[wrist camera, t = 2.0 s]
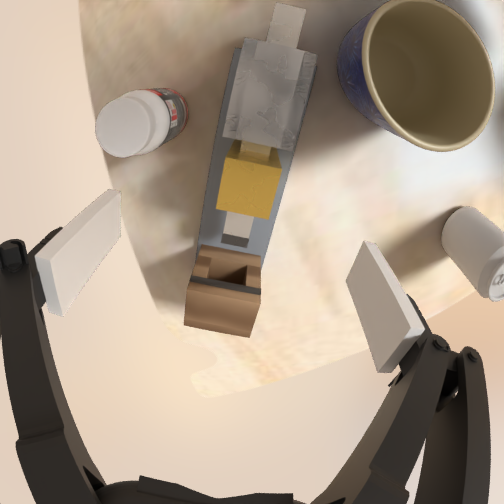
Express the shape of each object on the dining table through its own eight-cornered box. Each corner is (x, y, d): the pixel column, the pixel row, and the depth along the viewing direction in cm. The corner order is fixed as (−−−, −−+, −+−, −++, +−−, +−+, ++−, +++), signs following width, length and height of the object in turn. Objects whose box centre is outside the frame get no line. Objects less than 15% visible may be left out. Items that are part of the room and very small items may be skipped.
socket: (203, 240, 35) (187, 287, 27) (261, 251, 35) (260, 301, 28) (198, 274, 37) (183, 325, 30) (251, 285, 38) (249, 337, 30)
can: (470, 251, 34) (513, 303, 24) (432, 252, 35) (475, 310, 24) (483, 205, 30) (537, 250, 20) (445, 201, 31) (500, 251, 20)
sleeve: (248, 50, 23) (244, 37, 17) (303, 63, 24) (317, 54, 17) (231, 124, 28) (222, 136, 21) (284, 136, 28) (292, 151, 21)
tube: (265, 12, 20) (266, -15, 13) (308, 22, 20) (326, 0, 13) (218, 221, 31) (206, 263, 24) (255, 228, 31) (254, 273, 25)
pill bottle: (182, 80, 25) (146, 79, 17) (195, 131, 28) (167, 152, 19) (131, 98, 26) (81, 108, 17) (146, 146, 29) (102, 173, 20)
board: (235, 48, 23) (235, 47, 23) (316, 66, 24) (317, 66, 23) (194, 274, 37) (193, 276, 37) (255, 286, 38) (255, 289, 37)
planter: (411, 146, 28) (467, 177, 18) (310, 100, 26) (337, 107, 17) (443, 56, 21) (507, 56, 12) (346, 0, 20) (386, -34, 10)
